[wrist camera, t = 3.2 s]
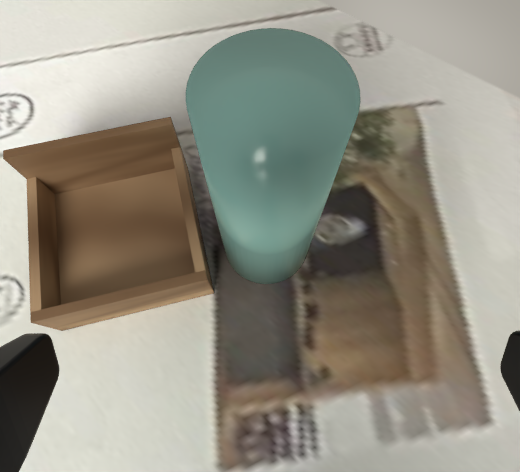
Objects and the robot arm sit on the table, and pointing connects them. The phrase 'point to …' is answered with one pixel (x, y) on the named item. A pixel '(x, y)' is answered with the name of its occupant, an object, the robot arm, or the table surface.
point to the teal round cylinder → (270, 142)
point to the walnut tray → (110, 225)
